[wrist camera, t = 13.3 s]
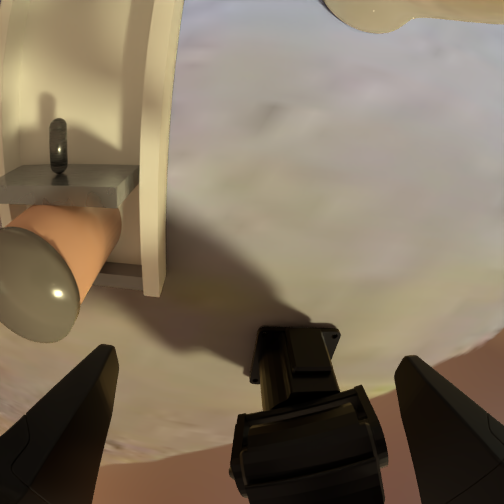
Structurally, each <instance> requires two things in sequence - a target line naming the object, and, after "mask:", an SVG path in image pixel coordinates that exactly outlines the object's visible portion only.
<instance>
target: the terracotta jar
mask: <svg viewBox="0 0 504 504" xmlns="http://www.w3.org/2000/svg"><path fill="white" fill-rule="evenodd" d="M121 230H122V220H121V214H120V211H119V208H99V207H79V206H56V205H32V206H30V207H29V208H28V209H26V210H25V211H24V212H23V213H21V214H20V215H19V216H18V217H16V218H15V219H14V220H13V221H11V222H10V223H9V224H8V225H7V226H5V227H4V228H0V322H1V323H2V324H4V325H5V326H6V327H7V328H8V329H10V330H11V331H13V332H14V333H16V334H17V335H19V336H21V337H23V338H25V339H28V340H31V341H34V342H39V343H53V342H57V341H60V340H62V339H63V338H64V337H66V336H67V335H68V333H69V332H70V330H71V328H72V327H73V325H74V323H75V321H76V319H77V317H78V314H79V311H80V305H81V303H82V301H83V299H84V298H85V296H86V294H87V292H88V291H89V289H90V287H91V285H92V284H93V282H94V280H95V279H96V277H97V275H98V274H99V272H100V270H101V268H102V267H103V265H104V264H105V262H106V260H107V259H108V257H109V255H110V254H111V252H112V251H113V249H114V247H115V246H116V244H117V243H118V241H119V238H120V235H121Z"/></svg>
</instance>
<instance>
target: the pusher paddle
mask: <svg viewBox="0 0 504 504" xmlns="http://www.w3.org/2000/svg"><path fill="white" fill-rule="evenodd" d="M49 149H50V164H40V165H22V166H20V167H18V168H16V169H14V170H12V171H10V172H8V173H7V174H5V175H3V176H1V177H0V204H29V205H56V206H79V207H99V208H118V207H119V206H120V205H121V203H122V202H123V201H124V200H125V199H126V198H127V196H128V195H129V194H130V193H131V192H132V191H133V189H134V188H135V187H136V186H137V185H138V184H139V178H140V165H113V164H68V154H67V123H66V121H65V120H64V119H62V118H56V119H54V120H53V121H52V122H51V123H50V126H49Z"/></svg>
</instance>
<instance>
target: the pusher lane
mask: <svg viewBox="0 0 504 504" xmlns="http://www.w3.org/2000/svg"><path fill="white" fill-rule="evenodd" d="M183 5H184V0H2V1H1V6H0V177H1V176H3V175H5V174H7V173H8V172H10V171H12V170H14V169H16V168H18V167H20V166H22V165H40V164H50V149H49V126H50V123H51V122H52V121H53V120H54V119H56V118H62V119H64V120H65V121H66V123H67V154H68V164H113V165H140V178H139V184H138V185H137V186H136V187H135V188H134V189H133V191H132V192H131V193H130V194H129V195H128V196H127V198H126V199H125V200H124V201H123V202H122V203H121V205H120V206H119V207H118V208H119V211H120V214H121V220H122V230H121V235H120V238H119V241H118V243H117V244H116V246H115V247H114V249H113V251H112V252H111V254H110V255H109V257H108V259H107V260H106V262H105V264H104V265H103V267H102V268H101V270H100V272H99V274H98V275H97V277H96V279H95V280H94V282H93V284H92V285H95V286H104V287H112V288H122V289H131V290H141V291H144V296H151V297H160V294H161V291H162V287H163V284H164V281H165V277H166V191H167V165H168V145H169V129H170V116H171V103H172V92H173V82H174V72H175V63H176V55H177V46H178V39H179V31H180V24H181V17H182V11H183ZM30 206H32V205H29V204H0V218H1V224H2V228H4V227H5V226H7V225H8V224H9V223H10V222H11V221H13V220H14V219H15V218H16V217H18V216H19V215H20V214H21V213H23V212H24V211H25V210H26V209H28V208H29V207H30Z"/></svg>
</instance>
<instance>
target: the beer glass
mask: <svg viewBox="0 0 504 504" xmlns="http://www.w3.org/2000/svg"><path fill="white" fill-rule="evenodd" d="M323 1H324V3H325V4H326V6H327V7H328V8H329V10H330V11H331V12H332V13H333V14H334V15H335V16H336V17H337V18H339V19H340V20H341V21H343V22H344V23H346V24H347V25H349V26H351V27H353V28H355V29H357V30H360V31H363V32H368V33H375V34H383V33H389V32H392V31H395V30H397V29H399V28H400V27H402V26H403V25H405V24H406V23H407V22H409V21H410V20H411V19H415V18H435V19H445V20H455V21H464V22H474V23H486V24H501V25H504V0H323Z"/></svg>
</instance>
